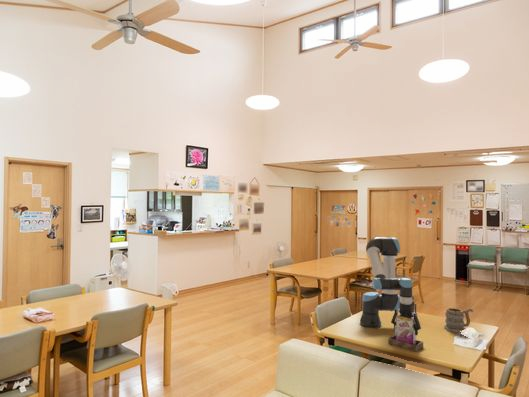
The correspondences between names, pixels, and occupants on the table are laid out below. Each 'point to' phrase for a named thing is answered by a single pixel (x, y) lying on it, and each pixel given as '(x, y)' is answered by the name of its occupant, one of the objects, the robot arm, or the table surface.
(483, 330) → the table surface
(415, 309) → the french press
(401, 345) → the holder tray
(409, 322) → the candy bar box
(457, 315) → the tankard
